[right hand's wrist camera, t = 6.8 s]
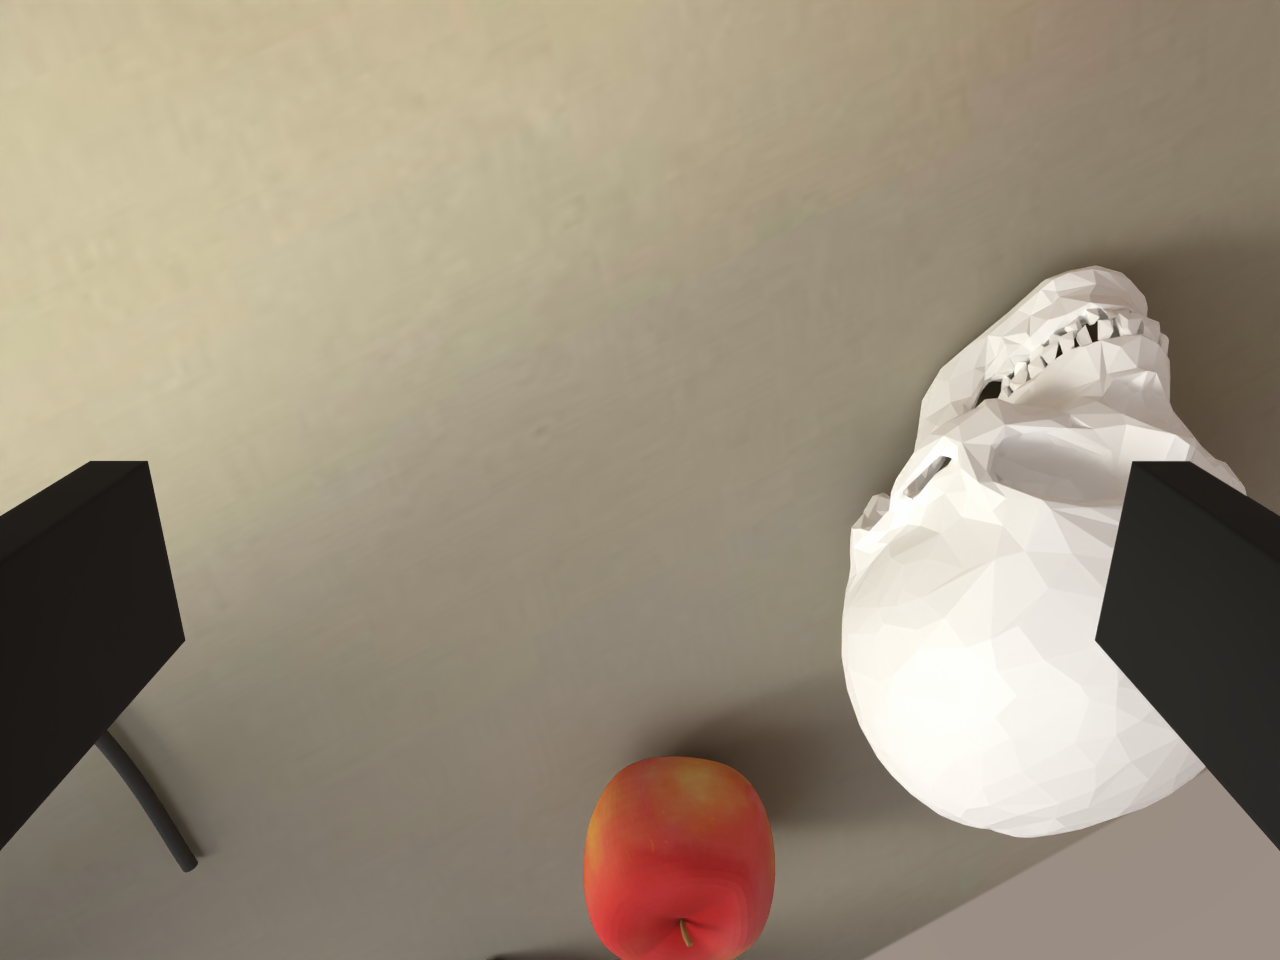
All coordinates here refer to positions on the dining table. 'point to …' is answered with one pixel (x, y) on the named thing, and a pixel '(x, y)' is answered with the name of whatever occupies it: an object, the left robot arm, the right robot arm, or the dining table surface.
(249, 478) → the dining table surface
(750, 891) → the apple
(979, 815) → the skull
